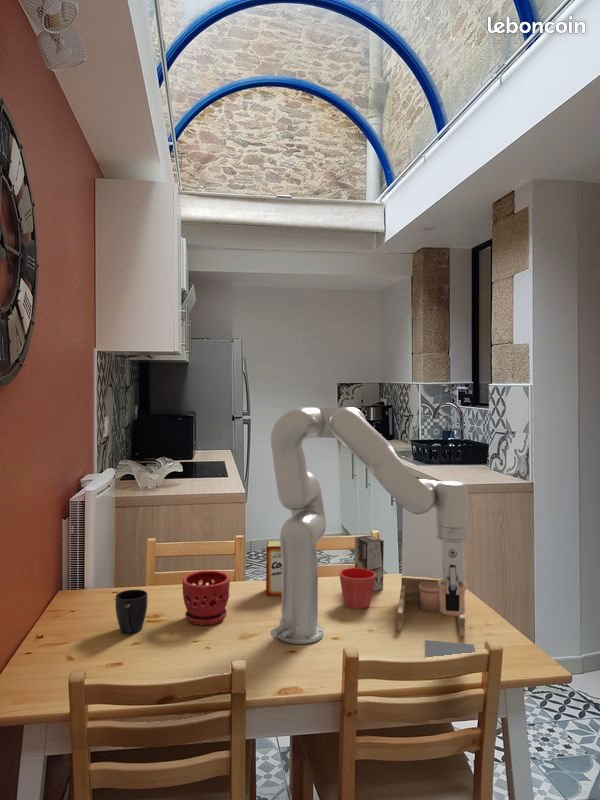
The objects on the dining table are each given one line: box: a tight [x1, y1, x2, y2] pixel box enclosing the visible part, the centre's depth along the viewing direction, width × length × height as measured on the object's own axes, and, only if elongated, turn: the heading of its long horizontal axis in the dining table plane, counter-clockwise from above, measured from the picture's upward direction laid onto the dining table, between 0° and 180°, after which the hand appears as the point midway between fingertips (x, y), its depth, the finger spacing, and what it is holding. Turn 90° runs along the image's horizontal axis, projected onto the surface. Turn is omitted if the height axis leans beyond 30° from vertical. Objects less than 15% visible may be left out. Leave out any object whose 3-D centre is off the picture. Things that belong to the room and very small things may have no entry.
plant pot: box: [182, 570, 231, 626], centre depth 162 cm, size 13×13×12 cm
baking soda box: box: [265, 540, 282, 597], centre depth 186 cm, size 10×6×16 cm
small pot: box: [437, 578, 467, 617], centre depth 142 cm, size 7×7×7 cm
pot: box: [419, 582, 440, 613], centre depth 173 cm, size 7×7×7 cm
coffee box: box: [354, 534, 385, 591], centre depth 193 cm, size 9×6×16 cm
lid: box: [401, 506, 444, 580], centre depth 183 cm, size 25×17×2 cm
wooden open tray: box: [397, 576, 466, 638], centre depth 166 cm, size 25×17×7 cm
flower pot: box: [339, 567, 376, 610], centre depth 175 cm, size 11×11×10 cm
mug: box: [114, 589, 148, 635], centre depth 153 cm, size 8×12×10 cm
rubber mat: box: [424, 639, 476, 658], centre depth 142 cm, size 12×12×1 cm
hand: (451, 604), depth 142 cm, fingers closed on small pot, 6 cm apart
